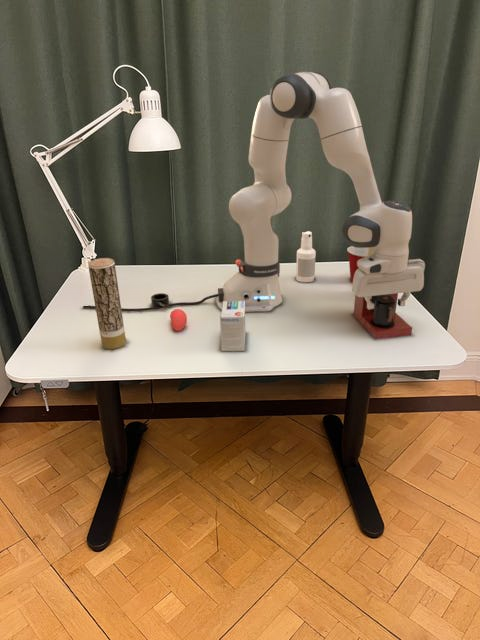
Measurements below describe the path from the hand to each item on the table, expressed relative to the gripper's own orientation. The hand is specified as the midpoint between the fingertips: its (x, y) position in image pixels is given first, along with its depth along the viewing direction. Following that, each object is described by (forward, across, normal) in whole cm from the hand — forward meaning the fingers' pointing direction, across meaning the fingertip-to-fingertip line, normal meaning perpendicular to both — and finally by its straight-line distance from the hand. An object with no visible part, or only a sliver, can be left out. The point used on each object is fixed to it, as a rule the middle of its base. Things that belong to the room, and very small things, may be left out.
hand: (385, 307), depth 139 cm
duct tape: (+6, +64, -33) cm, 73 cm away
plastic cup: (+8, -9, -39) cm, 41 cm away
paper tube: (+7, +78, -9) cm, 79 cm away
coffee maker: (+8, -1, -9) cm, 12 cm away
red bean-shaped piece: (+7, +59, -17) cm, 62 cm away
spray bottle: (+8, +10, -45) cm, 47 cm away
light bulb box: (+8, +44, -3) cm, 45 cm away
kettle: (+5, 0, 0) cm, 5 cm away
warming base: (+8, -1, -1) cm, 8 cm away
